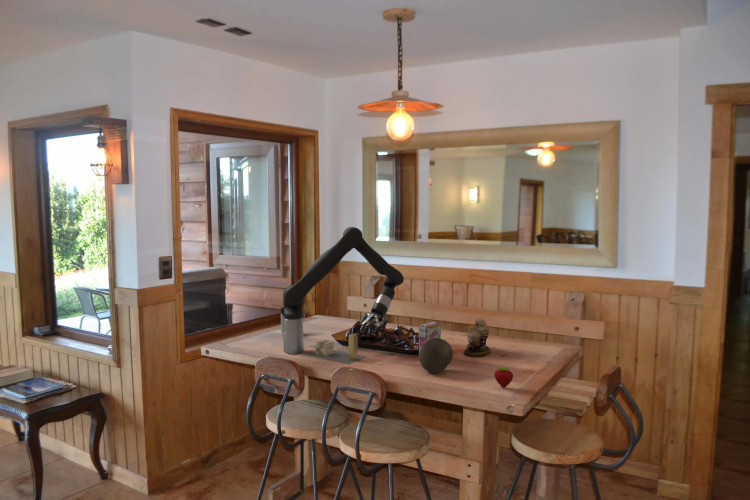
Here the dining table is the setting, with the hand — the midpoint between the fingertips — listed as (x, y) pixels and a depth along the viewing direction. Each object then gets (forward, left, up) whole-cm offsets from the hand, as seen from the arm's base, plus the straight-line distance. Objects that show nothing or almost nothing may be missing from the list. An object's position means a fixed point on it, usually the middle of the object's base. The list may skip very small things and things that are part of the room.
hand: (368, 333), depth 275 cm
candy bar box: (+27, +13, -11) cm, 32 cm away
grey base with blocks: (-11, -12, -11) cm, 19 cm away
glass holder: (-62, +10, -11) cm, 64 cm away
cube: (-18, -12, -10) cm, 24 cm away
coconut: (+41, -5, -11) cm, 43 cm away
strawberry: (+74, -8, -11) cm, 75 cm away
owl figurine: (+42, +33, -11) cm, 55 cm away
